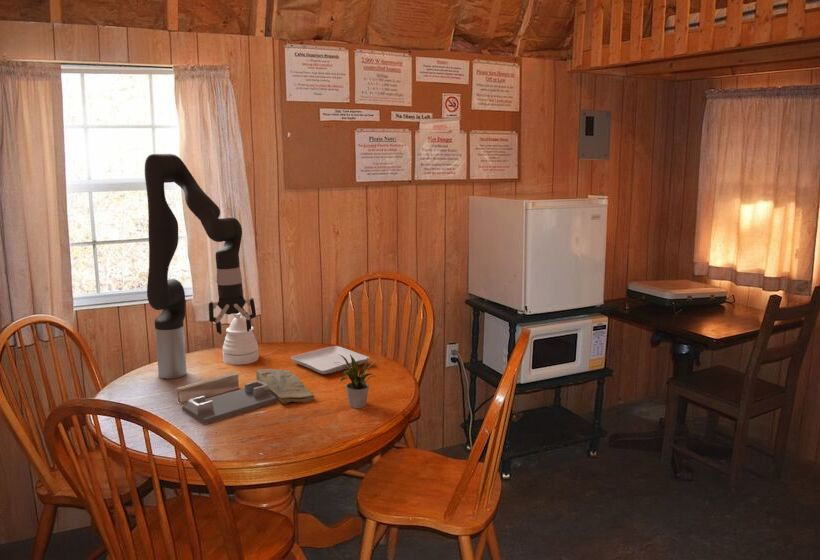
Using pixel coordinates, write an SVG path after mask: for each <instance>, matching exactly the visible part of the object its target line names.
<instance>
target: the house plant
mask: <svg viewBox="0 0 820 560" xmlns="http://www.w3.org/2000/svg"><path fill="white" fill-rule="evenodd" d="M338 355H339V354H338ZM340 356H342V355H340ZM350 356H351V355H350ZM342 357H343V356H342ZM359 357H360V356H359ZM343 358H344V360H345V361H346V363H347V365H348V367H349V369H348V368H347V367H346V366H345V365H344V364H343V365H344V366H345V367H346V368H347V369H345V368H344V367H343V366H342V367H343V368H344V369H345V370H343V372H342V373H343V374H345V375H346V377H344V376H343V377H341V378H340V381H339V383H342V382H343V381H345V380H347V379H349V381H350V382H348V383H347V384H346V385H345V389H346V394H347V400H348V405H349V407H350V406H351V407H350V408H352V407H353V409H361V408H364V406H365V407H366V406H367V403H368V395H369V388H370V384H369V383H367V381H368V380H369V379H371V378H372V377H373V378H374V377H375V375H373V373H366V372H367V371H368V370H369V369H370V368H371V367H372V366H373V364H374V363H376V362H378V361H379V359H377V360H374V361H372V363H370V365H368V366H367V363H368V361H369V360H368V358H367V360H366V362H365V363H363V367H362V368H360V370H359V365H358V363H359V362H358V363H356V361H355V359H354V358H353V357H352V356H351V361H352V368H351V367H350V365H349V363H348V361H347V360H346V358H345V357H343ZM358 360H359V359H358ZM333 363H339V362H333ZM341 364H342V363H341ZM368 376H369V377H368ZM367 377H368V378H367ZM366 378H367V379H366Z"/></svg>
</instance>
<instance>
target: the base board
mask: <svg viewBox="0 0 820 560" xmlns="http://www.w3.org/2000/svg"><path fill="white" fill-rule="evenodd" d="M210 400H212V401H213V409H214V411H211V412H208V413H204V414H201V415H196V414H195V413H193V412H191V411H190V410H188V403H186V404H183V405H181V410H183V412H184V413H186V414H187V415H189V416H190V417H192V418H194V419H195V420H197V421H198V420H199V422H200V423H202V424H203V425H207V424H211V423H213V422H216V421H219V420H223V419H227V418H230V417H234V416H237V415H239V414H242V413H243V414H244V413H246V412H249V411H250V412H251V411H252V410H256V409H259V408H262V407H265V406H269V405H272V404H276V403H277V399H276V397H274V396H272V395H271V394H270V393H269V394H268V395H265V396H261V397H258V398H254V397H253V392H252V393H248V394H246V393H245V387H243V388H240V389H237V390H236V389H235V390H231V391H228V392H224V393H221V394H217V395H214V396H210V397H207V398H205V402H207V401H210Z"/></svg>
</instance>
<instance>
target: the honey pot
mask: <svg viewBox="0 0 820 560" xmlns="http://www.w3.org/2000/svg"><path fill="white" fill-rule="evenodd" d="M233 316H234V317H233V319H231V322H230V324H229V325H228V326H229V327H227V328H225V329H226V330H225V333H226V336H225V337H224V342H223V345H222V360H223V362H224V363H225V364H227V363H228V364H227V365H233V366H234V365H237V366H238V365H247V364H251V363H255V362H257V361H258V360H259V358H260V357H259V355H260V354H259V344H258V342H257V339H256V335H255V334H254V332H253V331H254V329H255V327H254V326H252V325H251V329H250V330H249V331H248V332H247V325H246V318H245V317H244V316H243V315H242V314H241V313H240V312H239V313H238V314H233Z"/></svg>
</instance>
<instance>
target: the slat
mask: <svg viewBox="0 0 820 560" xmlns="http://www.w3.org/2000/svg"><path fill="white" fill-rule="evenodd" d="M239 385H240V382H239V373H237V372H235V371H233V372H229V373H227V374H224V375H219V376H216V377H211V378H208V379H204V380H201V381H197V382H193V383H189V384H186V385H183V386H179V387H176V392H177V394H176V395H177V403H178V402H179V403H178V404H180V403H181V405H182V404H183V405H186V404H188V401H187V400H189V399H193V398H196V397H200V396H205V399H207V398H211V397H214V396H217V395H221V394H224V393H228V392H231V391H234V390H236V389H237V390H238V389H239V388H240V386H239ZM185 403H186V404H185Z"/></svg>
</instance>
